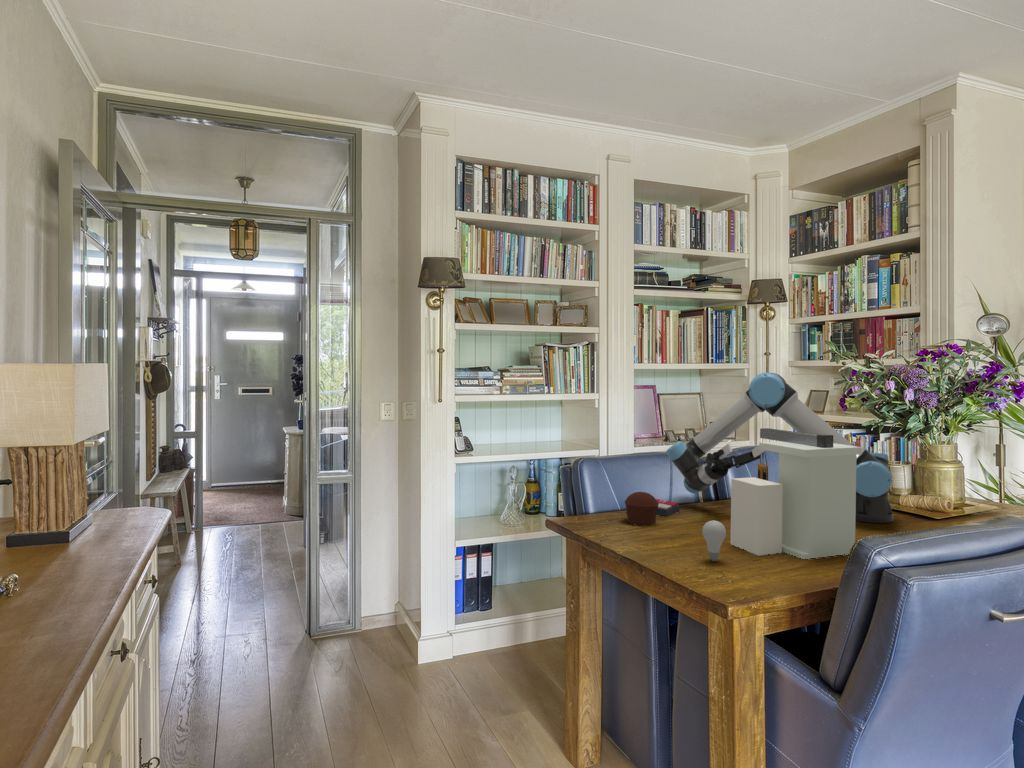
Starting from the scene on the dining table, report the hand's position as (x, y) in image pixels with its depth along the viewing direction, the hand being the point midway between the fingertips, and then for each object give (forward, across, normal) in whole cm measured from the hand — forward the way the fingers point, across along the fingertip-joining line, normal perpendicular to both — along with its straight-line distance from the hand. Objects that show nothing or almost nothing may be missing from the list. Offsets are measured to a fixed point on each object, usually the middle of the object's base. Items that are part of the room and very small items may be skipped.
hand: (747, 446), depth 209 cm
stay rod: (+19, 0, -7) cm, 21 cm away
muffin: (-27, +30, -15) cm, 43 cm away
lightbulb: (+12, +33, -38) cm, 52 cm away
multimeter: (-45, -41, -5) cm, 61 cm away
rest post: (+6, +15, -34) cm, 38 cm away
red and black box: (-38, +18, -9) cm, 43 cm away
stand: (+10, 0, -36) cm, 37 cm away
